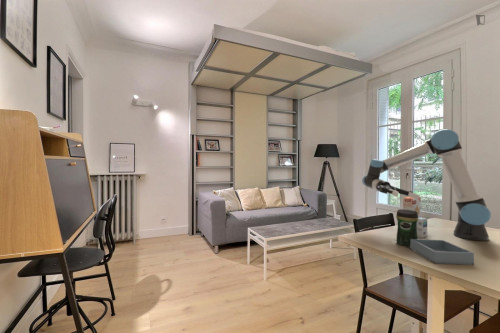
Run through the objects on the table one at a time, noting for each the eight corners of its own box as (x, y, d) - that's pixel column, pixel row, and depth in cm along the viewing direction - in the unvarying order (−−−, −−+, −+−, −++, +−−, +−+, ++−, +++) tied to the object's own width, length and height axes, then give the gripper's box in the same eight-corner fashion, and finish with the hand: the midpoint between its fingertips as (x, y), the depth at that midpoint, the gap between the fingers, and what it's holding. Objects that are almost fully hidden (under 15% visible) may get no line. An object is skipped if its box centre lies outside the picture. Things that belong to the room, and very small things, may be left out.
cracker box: (412, 231, 151) (412, 198, 151) (402, 229, 156) (402, 197, 155) (420, 227, 159) (421, 196, 159) (410, 226, 164) (410, 195, 164)
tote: (443, 249, 118) (443, 239, 118) (473, 264, 100) (474, 253, 100) (410, 248, 119) (410, 238, 119) (435, 263, 101) (435, 251, 101)
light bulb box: (427, 235, 141) (427, 217, 141) (423, 237, 137) (423, 219, 137) (407, 231, 150) (408, 214, 150) (402, 233, 146) (403, 215, 146)
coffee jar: (419, 245, 124) (419, 210, 124) (416, 249, 119) (416, 212, 119) (398, 241, 131) (398, 207, 131) (394, 244, 126) (394, 209, 125)
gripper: (396, 194, 153) (425, 205, 133) (362, 188, 149) (386, 199, 128) (399, 183, 152) (429, 192, 132) (365, 177, 148) (390, 186, 127)
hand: (408, 196), depth 130 cm, fingers open, 13 cm apart
